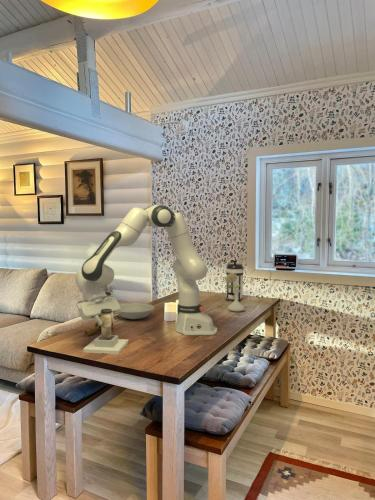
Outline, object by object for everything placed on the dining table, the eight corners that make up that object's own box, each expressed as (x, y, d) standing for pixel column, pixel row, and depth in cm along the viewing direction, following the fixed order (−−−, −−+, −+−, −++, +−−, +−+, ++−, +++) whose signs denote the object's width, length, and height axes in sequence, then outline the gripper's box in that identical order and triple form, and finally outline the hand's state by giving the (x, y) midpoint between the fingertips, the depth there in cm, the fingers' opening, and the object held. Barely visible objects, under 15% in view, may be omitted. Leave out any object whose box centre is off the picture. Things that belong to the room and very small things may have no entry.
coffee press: (219, 299, 283) (220, 259, 281) (237, 297, 290) (238, 258, 287) (231, 303, 267) (232, 261, 265) (250, 301, 274) (251, 261, 272)
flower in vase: (244, 309, 251) (245, 272, 249) (245, 313, 240) (246, 274, 238) (224, 308, 252) (225, 271, 250) (224, 312, 241) (225, 274, 239)
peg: (113, 337, 173) (113, 308, 172) (109, 340, 168) (109, 311, 167) (103, 336, 174) (103, 308, 173) (99, 340, 169) (99, 310, 168)
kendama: (93, 340, 186) (117, 326, 201) (90, 328, 186) (115, 315, 201) (83, 340, 190) (107, 327, 205) (80, 328, 190) (104, 316, 205)
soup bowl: (138, 325, 208) (138, 314, 207) (105, 319, 219) (105, 308, 219) (162, 316, 229) (162, 305, 228) (130, 311, 240) (130, 301, 240)
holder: (128, 342, 178) (128, 333, 178) (118, 354, 163) (118, 344, 162) (96, 341, 180) (95, 331, 180) (82, 352, 164) (82, 342, 164)
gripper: (77, 297, 167) (90, 323, 161) (114, 291, 182) (127, 315, 176) (72, 306, 170) (84, 331, 164) (109, 299, 185) (121, 322, 179)
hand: (107, 323), depth 170 cm, fingers closed on peg, 4 cm apart
